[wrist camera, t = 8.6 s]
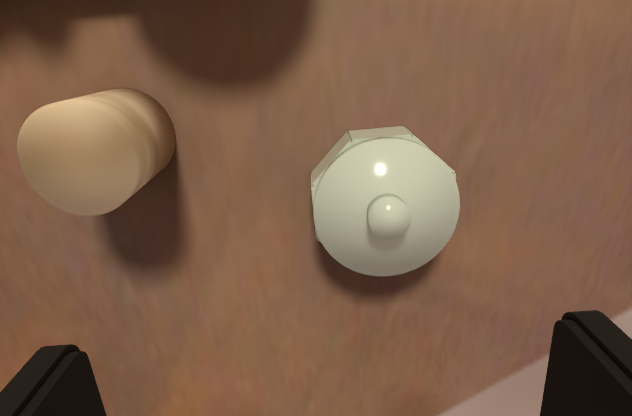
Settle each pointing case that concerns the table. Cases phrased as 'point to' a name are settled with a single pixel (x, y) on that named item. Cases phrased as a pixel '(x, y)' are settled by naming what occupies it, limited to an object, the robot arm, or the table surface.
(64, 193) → the beige cylinder
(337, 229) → the lid
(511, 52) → the table surface
